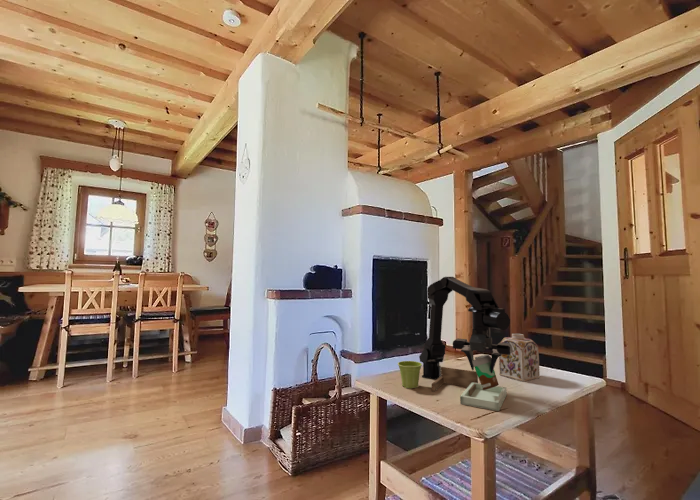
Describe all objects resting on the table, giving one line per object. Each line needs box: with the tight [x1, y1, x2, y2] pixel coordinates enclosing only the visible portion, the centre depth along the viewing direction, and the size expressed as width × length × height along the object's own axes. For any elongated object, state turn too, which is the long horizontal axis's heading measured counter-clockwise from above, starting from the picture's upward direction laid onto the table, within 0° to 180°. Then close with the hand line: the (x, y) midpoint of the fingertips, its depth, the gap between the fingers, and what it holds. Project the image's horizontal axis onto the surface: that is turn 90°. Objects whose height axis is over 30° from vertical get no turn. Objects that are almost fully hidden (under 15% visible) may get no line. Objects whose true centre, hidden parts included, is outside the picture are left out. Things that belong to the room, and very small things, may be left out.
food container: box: [472, 354, 499, 390], centre depth 121 cm, size 12×6×10 cm, turn 155°
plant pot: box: [397, 360, 423, 389], centre depth 135 cm, size 9×9×9 cm
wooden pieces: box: [431, 366, 479, 396], centre depth 131 cm, size 14×13×6 cm
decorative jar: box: [498, 333, 541, 383], centre depth 149 cm, size 12×12×18 cm
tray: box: [459, 382, 508, 412], centre depth 121 cm, size 12×18×3 cm, turn 149°
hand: (482, 371), depth 120 cm, fingers closed on food container, 6 cm apart
